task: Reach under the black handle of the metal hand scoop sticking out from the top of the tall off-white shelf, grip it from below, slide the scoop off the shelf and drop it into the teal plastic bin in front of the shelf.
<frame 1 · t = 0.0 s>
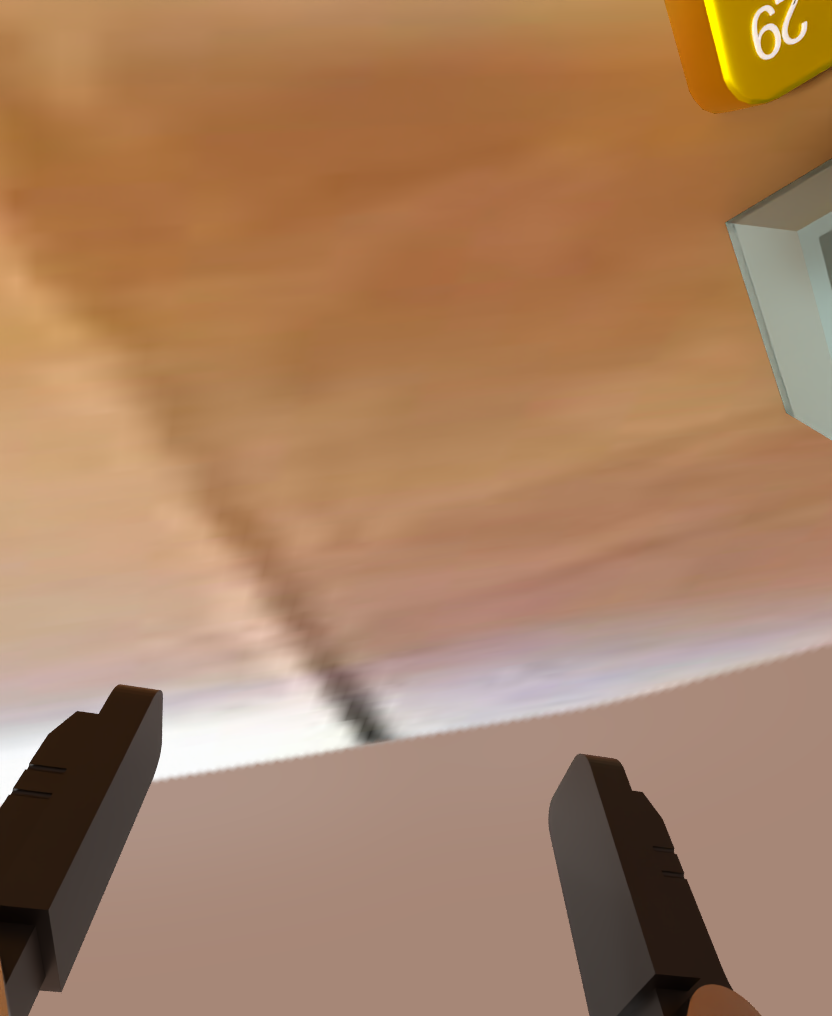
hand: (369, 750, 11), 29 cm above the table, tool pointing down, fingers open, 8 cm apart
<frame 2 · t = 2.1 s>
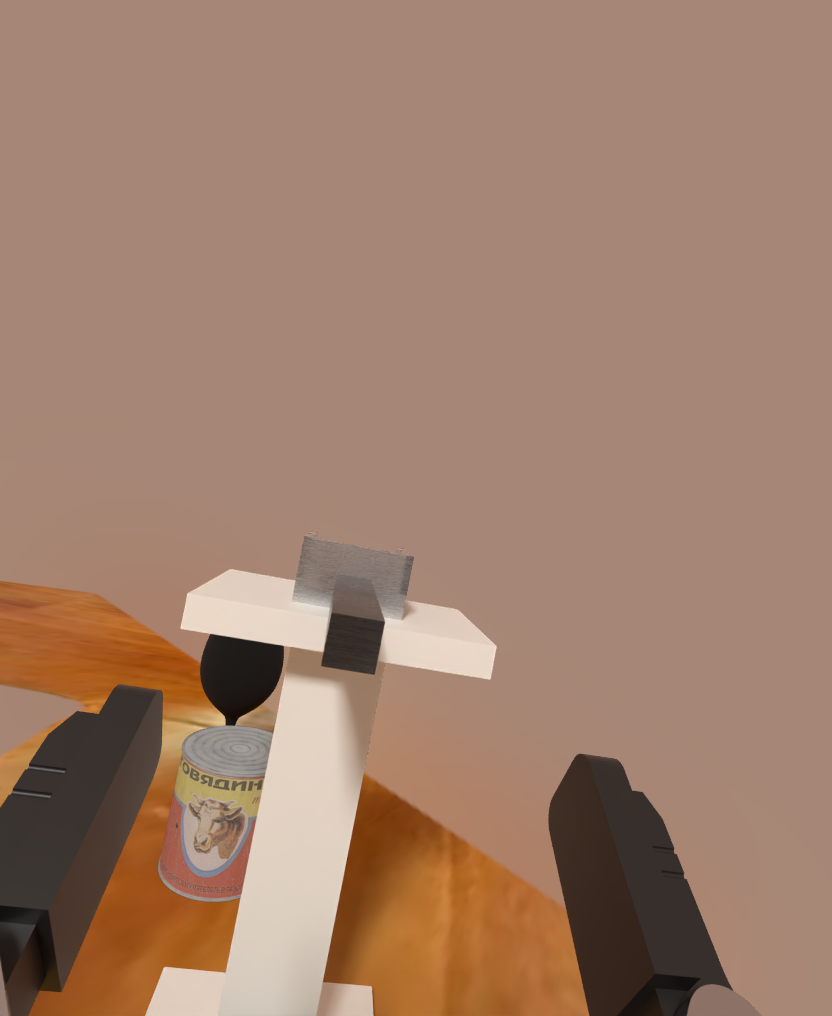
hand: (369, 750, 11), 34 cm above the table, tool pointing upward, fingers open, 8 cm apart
wine glass: (219, 778, 76), on the table
scoop: (347, 611, 36), point 32 cm above the table, touching shelf
canned food: (216, 865, 59), on the table
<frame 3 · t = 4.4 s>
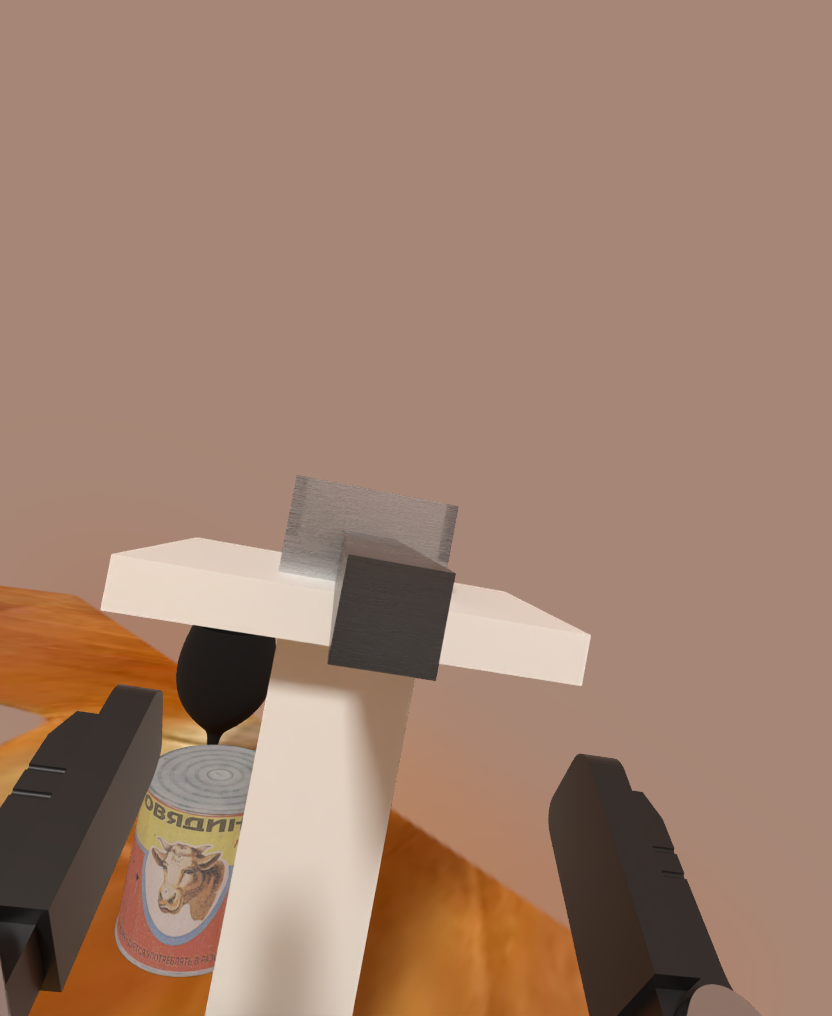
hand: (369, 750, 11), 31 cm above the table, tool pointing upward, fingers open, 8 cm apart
wine glass: (200, 806, 64), on the table
scoop: (361, 585, 24), point 32 cm above the table, touching shelf
canned food: (191, 923, 47), on the table
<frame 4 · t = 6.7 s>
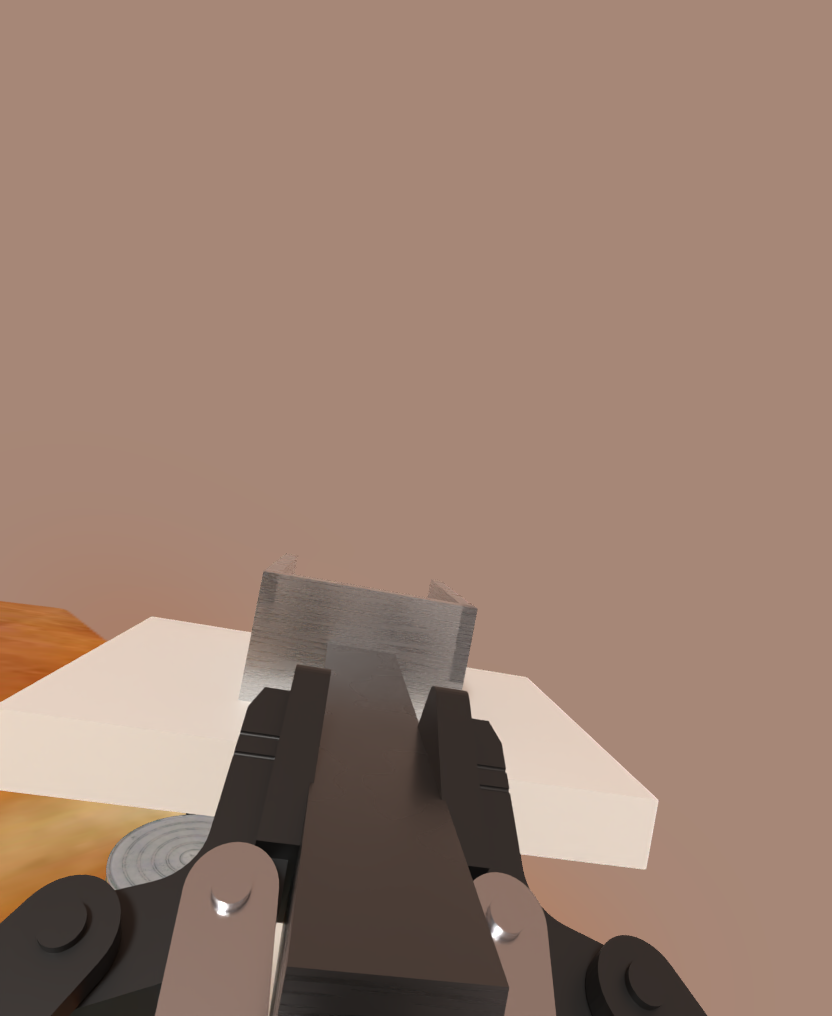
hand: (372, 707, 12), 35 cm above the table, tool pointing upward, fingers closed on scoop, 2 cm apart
scoop: (348, 716, 18), point 32 cm above the table, touching gripper, shelf
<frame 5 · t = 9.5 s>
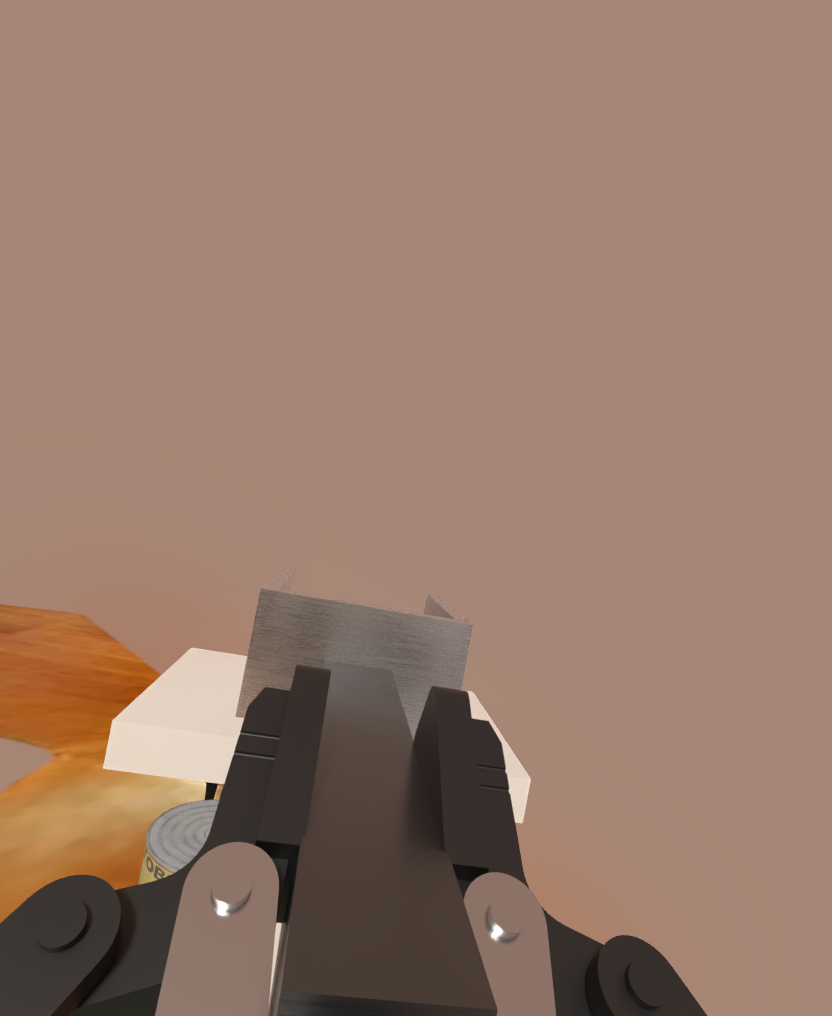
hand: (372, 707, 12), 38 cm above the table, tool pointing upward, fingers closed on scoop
scoop: (345, 732, 19), point 35 cm above the table, touching gripper
canned food: (189, 971, 50), on the table
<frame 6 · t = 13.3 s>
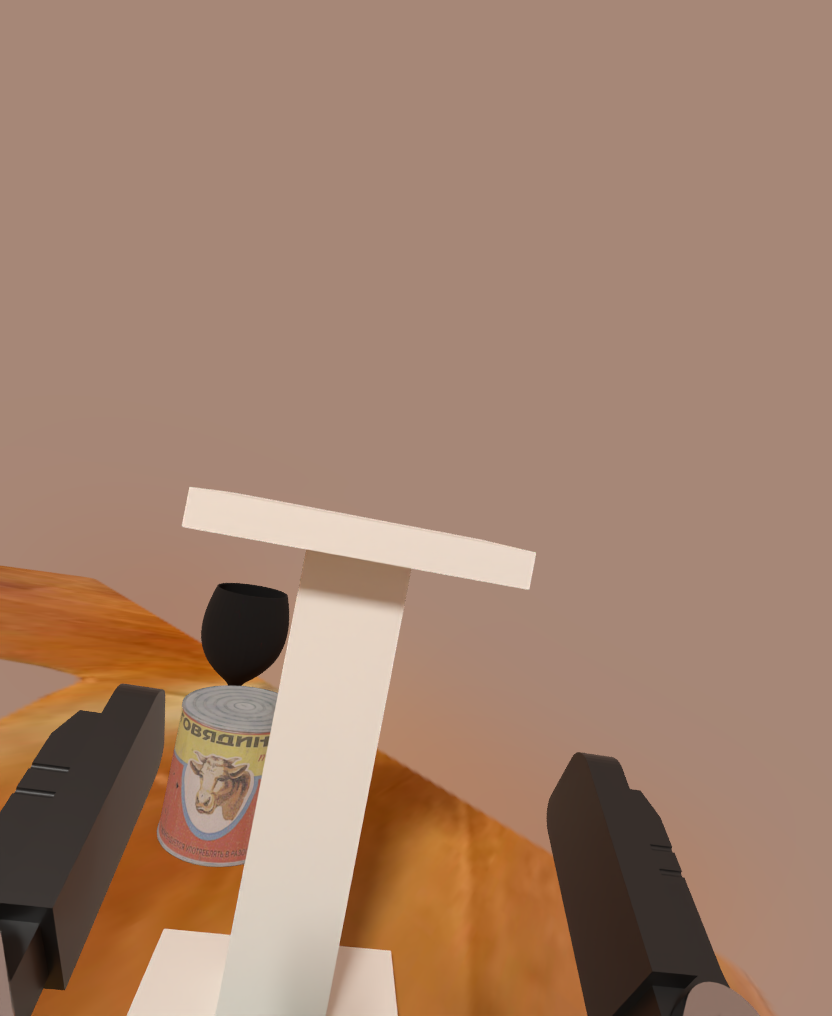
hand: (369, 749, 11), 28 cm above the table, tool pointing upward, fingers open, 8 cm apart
wine glass: (221, 749, 72), on the table
canned food: (220, 831, 55), on the table
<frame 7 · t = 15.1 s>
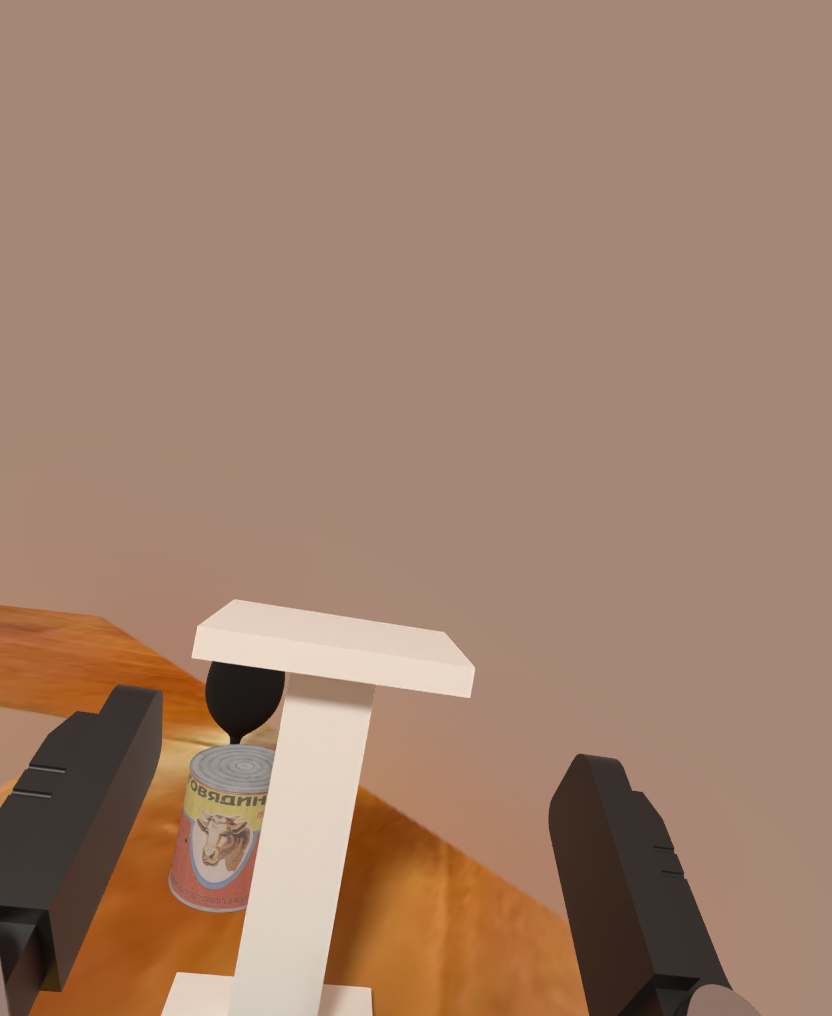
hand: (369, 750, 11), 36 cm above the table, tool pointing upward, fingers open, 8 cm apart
wine glass: (224, 795, 79), on the table
canned food: (224, 878, 62), on the table
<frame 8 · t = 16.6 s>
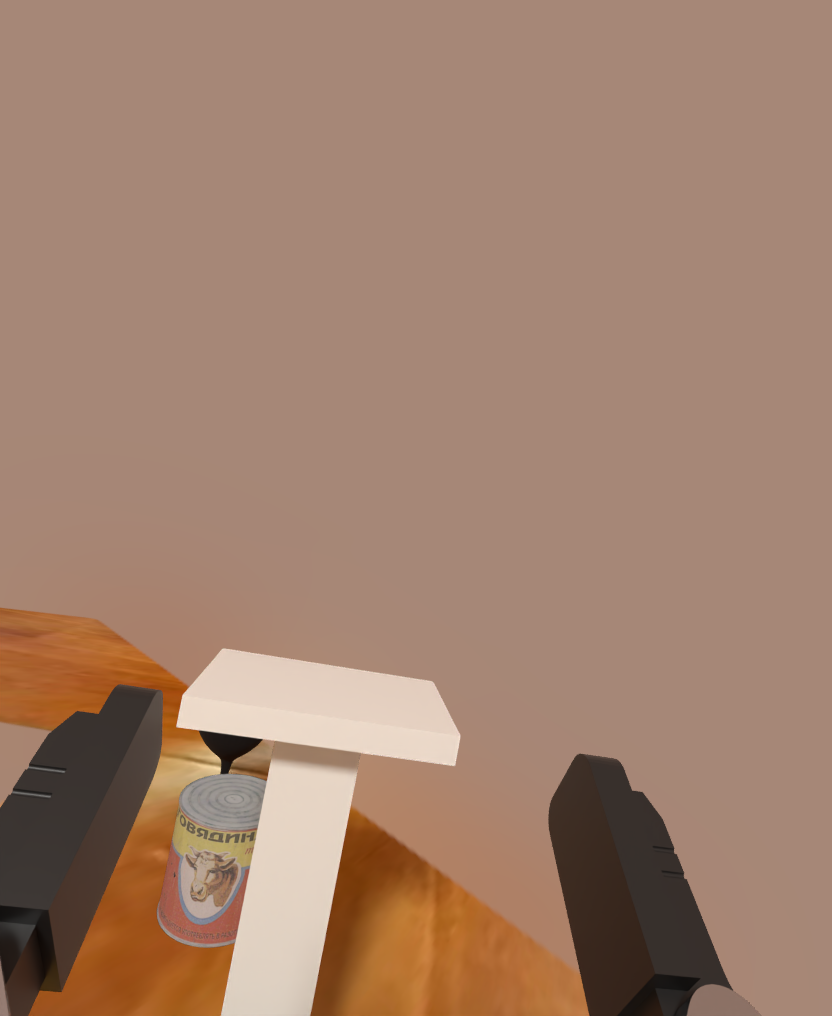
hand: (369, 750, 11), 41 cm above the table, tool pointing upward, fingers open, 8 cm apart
wine glass: (215, 818, 80), on the table
canned food: (212, 909, 62), on the table
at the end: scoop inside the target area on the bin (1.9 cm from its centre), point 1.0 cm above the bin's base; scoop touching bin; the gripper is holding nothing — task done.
